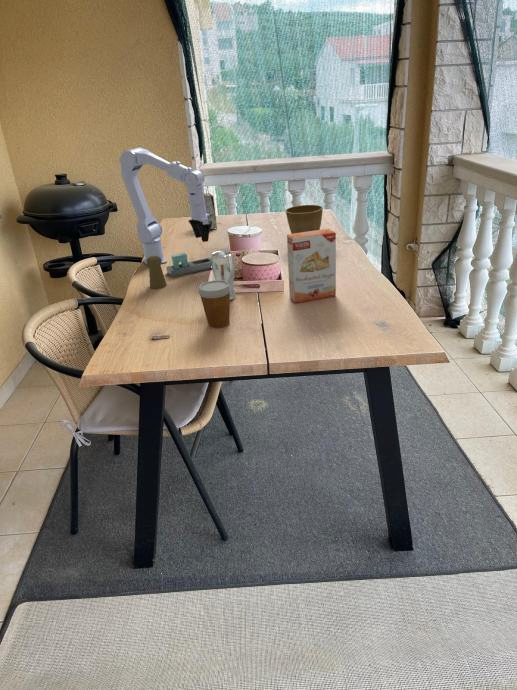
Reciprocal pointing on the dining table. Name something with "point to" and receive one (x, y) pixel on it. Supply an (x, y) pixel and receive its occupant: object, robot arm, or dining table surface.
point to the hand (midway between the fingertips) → (202, 239)
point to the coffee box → (210, 209)
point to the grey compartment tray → (190, 267)
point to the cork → (156, 272)
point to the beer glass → (224, 268)
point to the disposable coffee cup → (216, 302)
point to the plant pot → (304, 218)
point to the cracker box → (312, 265)
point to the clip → (179, 260)
